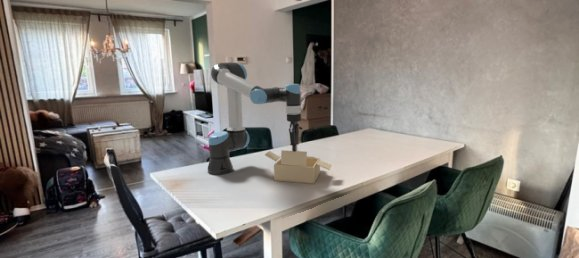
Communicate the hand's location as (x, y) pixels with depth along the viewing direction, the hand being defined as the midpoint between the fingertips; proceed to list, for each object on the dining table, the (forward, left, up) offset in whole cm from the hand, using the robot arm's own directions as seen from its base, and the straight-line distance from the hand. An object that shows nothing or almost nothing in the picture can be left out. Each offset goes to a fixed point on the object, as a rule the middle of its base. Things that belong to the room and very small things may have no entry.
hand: (294, 156), depth 169 cm
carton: (0, +6, -14) cm, 15 cm away
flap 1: (-15, +6, -2) cm, 16 cm away
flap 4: (+15, +6, -5) cm, 17 cm away
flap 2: (0, -2, 0) cm, 2 cm away
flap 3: (0, +20, -5) cm, 20 cm away
